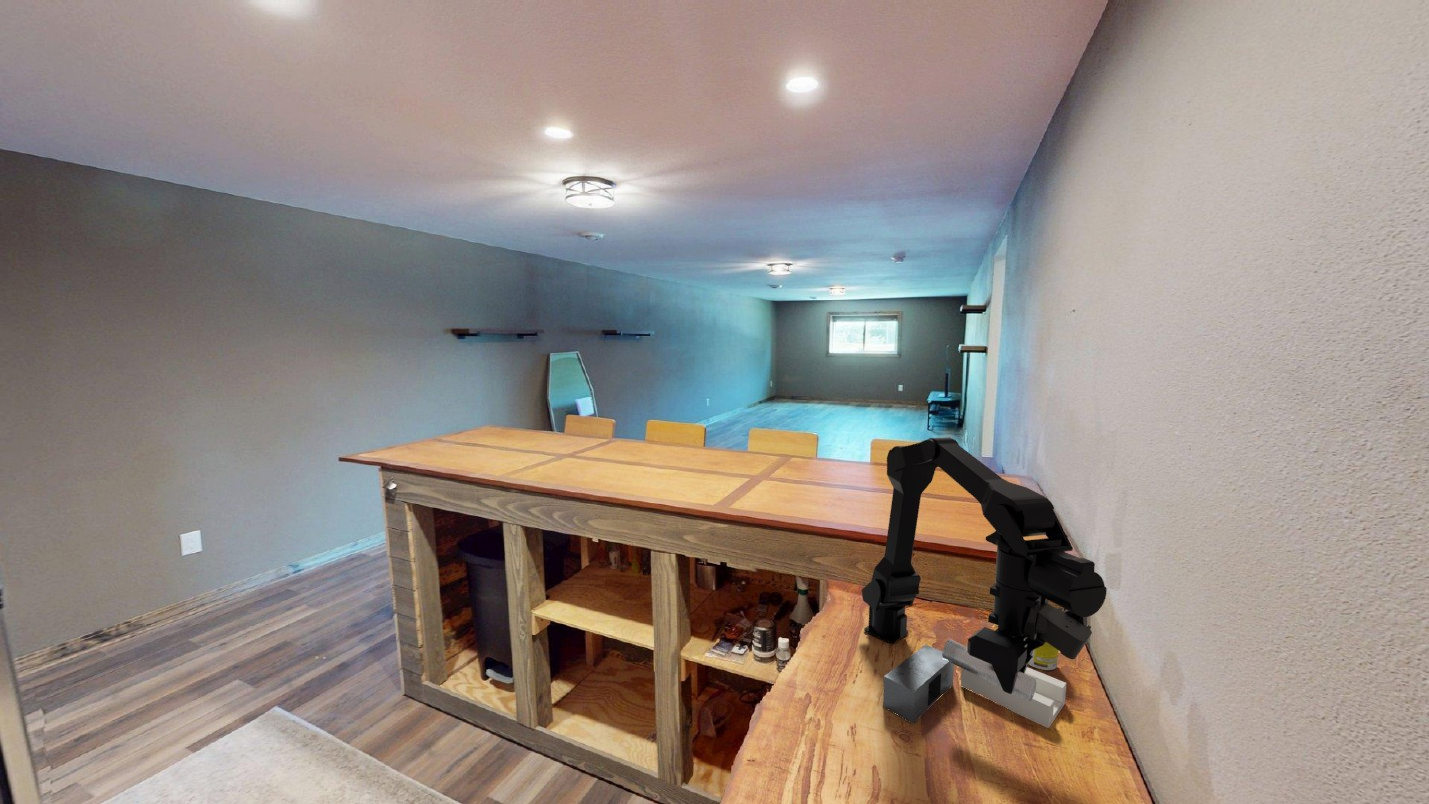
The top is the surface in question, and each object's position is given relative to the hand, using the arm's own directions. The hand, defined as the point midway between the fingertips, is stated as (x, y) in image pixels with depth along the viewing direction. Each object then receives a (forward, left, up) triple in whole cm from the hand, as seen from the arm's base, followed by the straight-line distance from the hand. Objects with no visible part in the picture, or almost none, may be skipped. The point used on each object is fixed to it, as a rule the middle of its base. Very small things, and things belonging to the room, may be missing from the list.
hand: (1012, 687), depth 74 cm
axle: (-3, 0, +1) cm, 4 cm away
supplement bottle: (-4, +26, -9) cm, 28 cm away
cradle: (-4, +12, -8) cm, 15 cm away
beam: (-14, 0, -8) cm, 16 cm away
